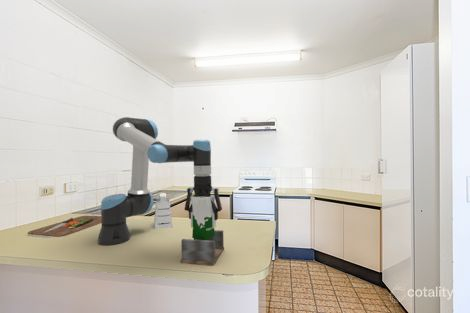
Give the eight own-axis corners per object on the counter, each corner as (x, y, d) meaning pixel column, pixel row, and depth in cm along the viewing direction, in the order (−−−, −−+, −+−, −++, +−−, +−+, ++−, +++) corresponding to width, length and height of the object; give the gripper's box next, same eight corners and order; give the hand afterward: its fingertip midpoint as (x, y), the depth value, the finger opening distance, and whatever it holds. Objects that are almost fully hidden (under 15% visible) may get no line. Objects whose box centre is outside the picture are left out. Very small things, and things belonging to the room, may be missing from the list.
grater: (171, 222, 160) (170, 192, 159) (172, 227, 150) (172, 194, 150) (154, 224, 156) (153, 193, 156) (154, 229, 146) (154, 195, 146)
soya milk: (202, 232, 113) (201, 189, 112) (218, 235, 108) (217, 190, 108) (189, 238, 105) (188, 192, 105) (205, 242, 100) (204, 193, 100)
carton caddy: (180, 262, 100) (180, 241, 100) (195, 247, 116) (195, 228, 116) (213, 265, 97) (213, 243, 97) (224, 249, 114) (223, 229, 113)
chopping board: (57, 239, 132) (57, 234, 132) (20, 236, 138) (20, 230, 138) (117, 218, 175) (116, 213, 175) (86, 216, 182) (86, 212, 182)
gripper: (175, 176, 105) (176, 228, 105) (224, 176, 100) (225, 230, 101) (182, 174, 112) (183, 223, 112) (228, 174, 108) (229, 225, 108)
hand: (203, 226), depth 106 cm, fingers closed on soya milk, 9 cm apart
